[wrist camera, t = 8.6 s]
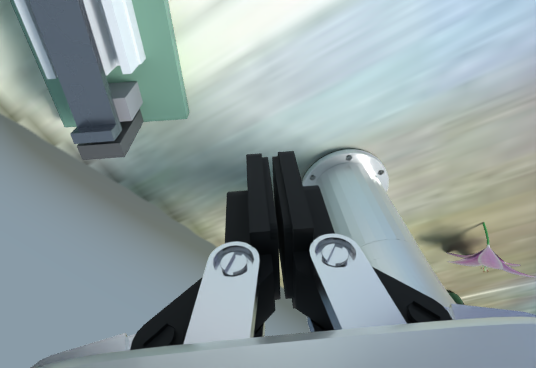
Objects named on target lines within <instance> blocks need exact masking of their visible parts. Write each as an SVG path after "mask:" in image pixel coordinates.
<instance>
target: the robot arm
mask: <svg viewBox="0 0 536 368" xmlns="http://www.w3.org/2000/svg"><path fill="white" fill-rule="evenodd" d="M347 155H348V156H347ZM246 158H247V184H248V191H235V192H227V206H226V228H225V244H222V245H221V246H219V247H217V248H216V249H215V250H214V251H213V252H212V253H211V254H210V256H209V258H208V261H207V264H206V268H205V271H204V275H203V277H202V278H201V279H200V280H198V281H197V282H196V283H195V284H194V285H192V286H191V287H190V288H189V289H188V290H186V291H185V292H184V293H183V294H181V295H180V296H179V297H178V298H176V299H175V300H174V301H173V302H171V303H170V304H169V305H168V306H167V307H165V308H164V309H163V310H162V311H161V312H159V313H158V314H157V315H155V316H154V317H153V318H152V319H151V320H149V321H148V322H147V323H146V324H145V325H143V327H142V328H141V329H140V330H139V331H138V332H137V333H136V334H134V335H131V336H128V337H127V335H126V333H124V334H120V335H117V336H114V337H111V338H107V339H104V340H100V341H97V342H94V343H91V344H88V345H84V346H81V347H77V348H74V349H71V350H67V351H64V352H61V353H57V354H54V355H51V356H49V357H46V358H44V359H42V360H40V361H39V362H37V363H36V364H35V365H34V366H32V367H31V368H536V315H534V314H530V313H526V312H521V311H512V310H503V309H495V308H486V307H477V306H468V305H460V304H456V303H455V301H454V300H453V299H452V297H451V296H450V295H449V293H448V292H447V290H446V289H445V288H444V286H443V285H442V283H441V282H440V280H439V279H438V277H437V275H436V274H435V272H434V271H433V269H432V268H431V266H430V264H429V263H428V261H427V259H426V258H425V256H424V254H423V253H422V251H421V250H420V248H419V246H418V244H417V243H416V241H415V239H414V238H413V236H412V234H411V233H410V231H409V229H408V228H407V226H406V224H405V223H404V221H403V219H402V218H401V216H400V214H399V213H398V211H397V209H396V208H395V206H394V204H393V203H392V201H391V199H390V198H389V196H388V194H387V190H388V186H389V177H388V173H387V170H386V168H385V166H384V165H383V163H382V162H381V161H380V160H379V159H378V158H377V157H376V156H374V155H372V154H371V153H369V152H366V151H363V150H356V149H345V150H340V151H336V152H333V153H331V154H328V155H326V156H324V157H323V158H321V159H319V160H318V161H317V162H316V163H314V164H313V165H312V166H311V167H310V169H309V170H308V171H307V173H306V174H305V176H304V178H303V181H301V177H300V173H299V170H298V166H297V162H296V158H295V155H294V151H289V152H278V156H276V157H272V161H273V185H274V198H273V191H272V184H271V177H270V169H269V162H268V157H262V154H248V155H246ZM279 254H280V261H281V269H282V276H283V284H284V291H285V298H286V299H288V298H292V303H293V308H296V309H297V310H299V311H300V312H302V313H303V314H305V315H306V316H307V322H308V326H309V329H310V332H309V333H298V334H289V335H277V336H266V337H264V335H265V321H266V320H267V319H268V318H269V317H270V315H271V314H272V313H273V312H274V311H275V300H277V299H280V272H279Z"/></svg>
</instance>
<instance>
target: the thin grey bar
mask: <svg viewBox="0 0 536 368" xmlns="http://www.w3.org/2000/svg"><path fill="white" fill-rule="evenodd" d="M29 2H30V5H31V8H32V10H33V13H34V15H35V18H36V21H37V23H38V26H39V29H40V31H41V34H42V36H43V39H44V42H45V44H46V47H47V49H48V52H49V55H50V57H51V60H52V63H53V65H54V68H55V70H56V73H57V76H58V78H59V81H60V84H61V86H62V89H63V91H64V94H65V97H66V99H67V102H68V104H69V107H70V110H71V112H72V115H73V118H74V120H75V123H76V125H77V128H76V129H75V130H74V131H73V132H72V133H71V137H72V139H73V142H74V144H79V143H93V142H107V141H115V139H116V138H117V137H118V135H119V134H120V132H121V131H122V127H121V124H120V121H119V117H118V114H117V111H116V108H115V104H114V101H113V98H112V94H111V91H110V88H109V85H108V81H107V78H106V75H105V71H104V68H103V65H102V62H101V58H100V55H99V52H98V49H97V45H96V42H95V39H94V35H93V32H92V29H91V26H90V22H89V19H88V16H87V12H86V9H85V6H84V3H83V0H29Z"/></svg>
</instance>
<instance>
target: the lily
mask: <svg viewBox="0 0 536 368" xmlns="http://www.w3.org/2000/svg"><path fill="white" fill-rule="evenodd" d="M483 226H484V230H485V233H486V238H487V247H486V248H485V249H483V250H482V251H480V252H478V253H475V254H472V255H457V254H452V253H448V252H446V253H448V254H450V255H453V256H456V257H461V258H464V259H461V260H458V261H447V262H450V263H454V264H459V265H464V266H481V265H483V266H484V267H485V268H486V267H490V268H495V269H502V270H504V271H506V272H509V273H512V274H516V275H521V276H526V277H533V278H536V277H535V276H531V275H527V274H523V273H520V272H518V271H516V270H514V269H512V268H510V267H509V266H507V265H506V264H508V265H510V266H514V267H516V266H521V265H519V264H510V263H506V264H504V263H505V262H504V261H503V260H502V259H501V258H499V257H498V256H497V255H496V254H495V253H494V252H493V251H492V250H491V248H490V246H489V237H488V233H487V229H486V226H485V223H483ZM483 266H482V267H483ZM482 267H481V268H482ZM483 269H484V268H483ZM483 272H485V269H484V271H483ZM487 272H488V271H487Z"/></svg>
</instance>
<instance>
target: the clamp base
mask: <svg viewBox="0 0 536 368" xmlns="http://www.w3.org/2000/svg"><path fill="white" fill-rule="evenodd" d="M10 2H11V4H12V6H13V8H14V11H15V13H16V15H17V18H18V20H19V22H20V25H21V27H22V29H23V32H24V34H25V36H26V39H27V41H28V43H29V46H30V48H31V50H32V53H33V55H34V57H35V59H36V62H37V64H38V66H39V69H40V71H41V73H42V76H43V78H44V80H45V83H46V85H47V87H48V90H49V92H50V94H51V97H52V99H53V101H54V104H55V106H56V108H57V110H58V113H59V115H60V117H61V120H62V122H63V124H64V127H77V125H76V123H75V120H74V118H73V115H72V112H71V110H70V107H69V104H68V102H67V99H66V97H65V94H64V91H63V89H62V86H61V84H60V81H59V78H58V76H57V73H56V70H55V68H54V65H53V63H52V60H51V57H50V55H49V52H48V49H47V47H46V44H45V42H44V39H43V36H42V34H41V31H40V29H39V26H38V23H37V21H36V18H35V15H34V13H33V10H32V8H31V5H30V2H29V0H10ZM83 3H84V6H85V9H86V12H87V16H88V19H89V22H90V26H91V29H92V32H93V35H94V39H95V42H96V45H97V49H98V52H99V55H100V58H101V62H102V65H103V68H104V71H105V75H106V78H107V81H108V85H109V88H110V91H111V94H112V98H113V101H114V104H115V108H116V111H117V114H118V117H119V121H120V124H121V127H122V131H121V132H120V134H119V135H118V137H117V138H116V139H115V141H107V142H93V143H79V144H78V145H77V148H78V150H79V152H80V155H81V157H82V159H83V160H88V159H102V158H115V157H125V155H126V154H127V152H128V150H129V148H130V146H131V144H132V142H133V140H134V139H135V137H136V135H137V133H138V131H139V129H140V127H141V125H142V124H143V122H149V121H163V120H178V119H187V117H188V114H189V109H188V103H187V98H186V93H185V88H184V82H183V77H182V72H181V67H180V61H179V56H178V51H177V46H176V40H175V35H174V30H173V25H172V19H171V14H170V9H169V4H168V0H83Z"/></svg>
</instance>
